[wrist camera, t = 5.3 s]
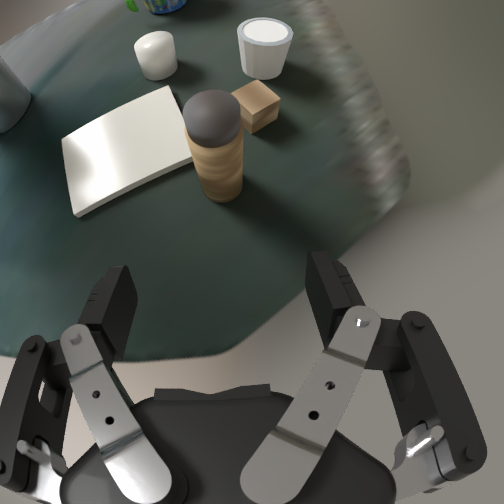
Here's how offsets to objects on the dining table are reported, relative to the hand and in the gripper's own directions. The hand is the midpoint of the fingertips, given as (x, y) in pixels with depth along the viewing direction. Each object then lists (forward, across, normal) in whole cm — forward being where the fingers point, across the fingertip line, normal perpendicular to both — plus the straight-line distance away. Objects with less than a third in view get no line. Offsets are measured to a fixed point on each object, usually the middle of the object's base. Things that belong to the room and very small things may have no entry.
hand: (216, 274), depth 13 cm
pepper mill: (+20, 0, +3) cm, 20 cm away
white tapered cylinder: (+33, -6, -9) cm, 35 cm away
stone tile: (+24, +12, -1) cm, 27 cm away
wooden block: (+26, -4, -3) cm, 27 cm away
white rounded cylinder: (+34, +8, -11) cm, 36 cm away
